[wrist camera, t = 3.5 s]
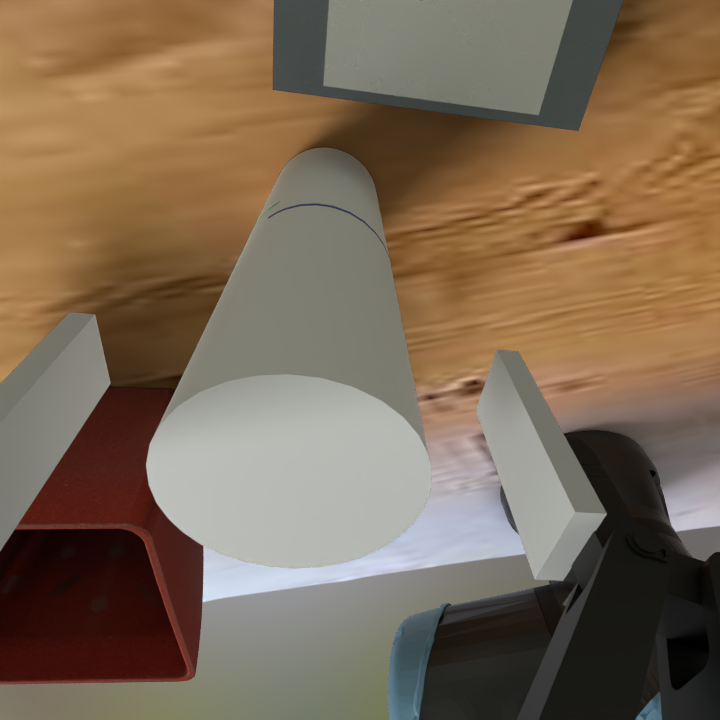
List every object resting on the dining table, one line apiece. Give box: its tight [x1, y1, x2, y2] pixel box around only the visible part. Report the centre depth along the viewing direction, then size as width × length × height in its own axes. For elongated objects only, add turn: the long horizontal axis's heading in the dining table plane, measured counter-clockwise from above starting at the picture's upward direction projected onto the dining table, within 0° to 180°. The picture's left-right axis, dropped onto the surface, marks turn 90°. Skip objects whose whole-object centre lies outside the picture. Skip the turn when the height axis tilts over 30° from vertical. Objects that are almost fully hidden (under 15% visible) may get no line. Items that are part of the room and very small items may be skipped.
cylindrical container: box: [146, 147, 432, 568], centre depth 22 cm, size 7×7×25 cm
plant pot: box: [0, 388, 203, 684], centre depth 38 cm, size 19×19×17 cm
